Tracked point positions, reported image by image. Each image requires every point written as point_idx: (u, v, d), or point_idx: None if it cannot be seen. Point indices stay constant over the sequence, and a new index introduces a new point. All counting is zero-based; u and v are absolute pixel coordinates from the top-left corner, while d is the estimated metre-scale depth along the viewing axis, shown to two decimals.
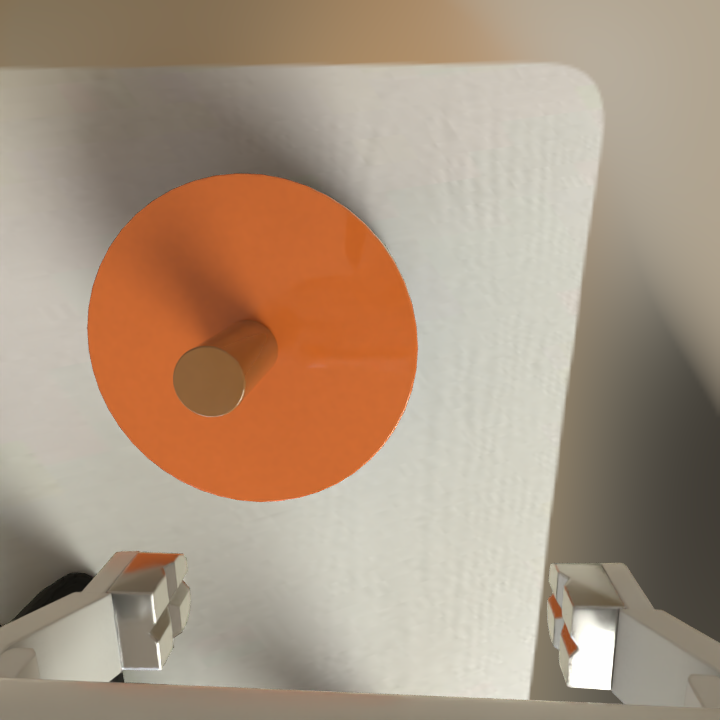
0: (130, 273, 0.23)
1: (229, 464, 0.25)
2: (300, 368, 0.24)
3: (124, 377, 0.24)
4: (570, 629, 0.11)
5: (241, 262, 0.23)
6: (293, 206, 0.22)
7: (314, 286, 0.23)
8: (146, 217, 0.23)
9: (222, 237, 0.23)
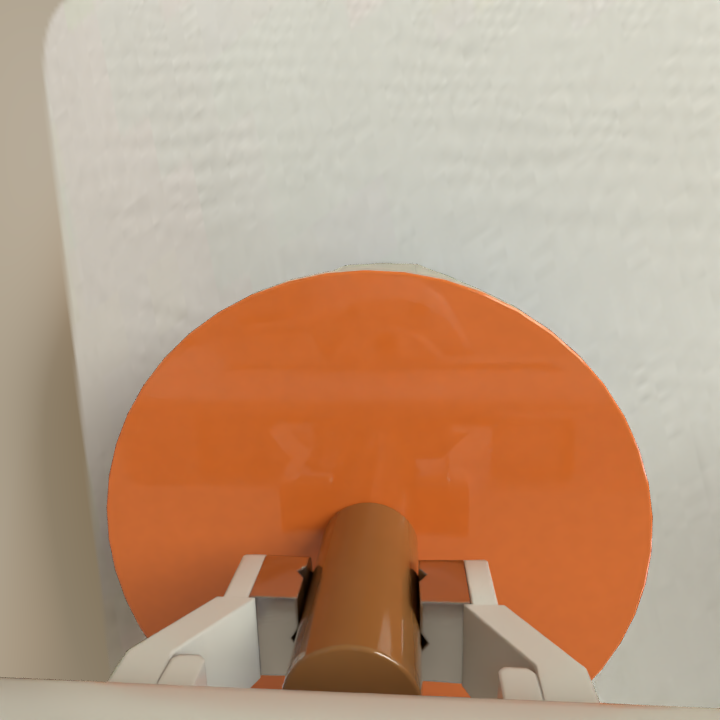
0: None
1: (575, 593, 0.14)
2: (402, 468, 0.14)
3: None
4: None
5: (233, 543, 0.15)
6: (146, 464, 0.14)
7: (264, 439, 0.14)
8: None
9: (199, 566, 0.15)
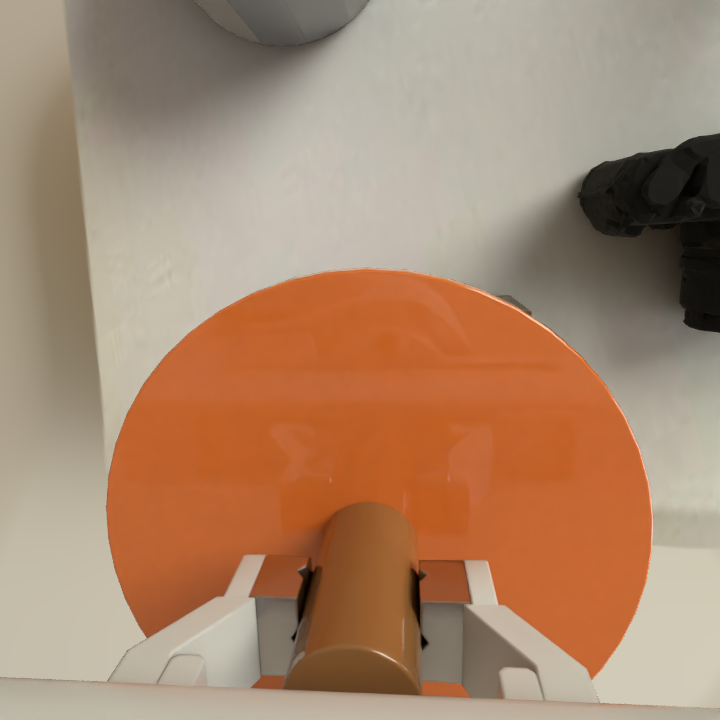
0: None
1: (575, 592, 0.14)
2: (402, 468, 0.14)
3: None
4: None
5: (233, 543, 0.15)
6: (145, 464, 0.14)
7: (264, 439, 0.14)
8: None
9: (199, 566, 0.15)
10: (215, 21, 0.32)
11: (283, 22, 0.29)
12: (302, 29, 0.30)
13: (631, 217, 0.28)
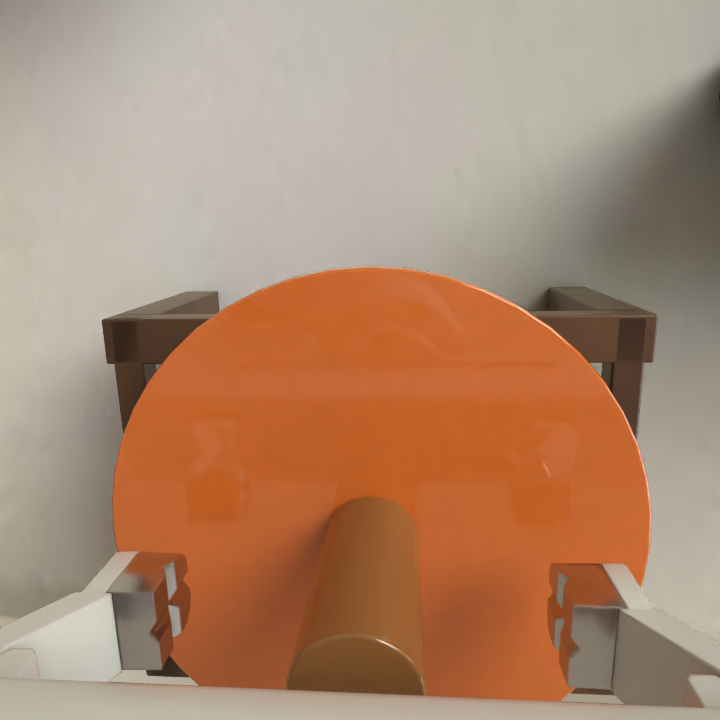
0: (262, 687, 0.16)
1: None
2: (404, 463, 0.14)
3: None
4: (570, 629, 0.11)
5: (237, 538, 0.15)
6: (151, 459, 0.15)
7: (268, 435, 0.14)
8: (183, 656, 0.16)
9: (204, 561, 0.15)
10: None
11: None
12: None
13: None
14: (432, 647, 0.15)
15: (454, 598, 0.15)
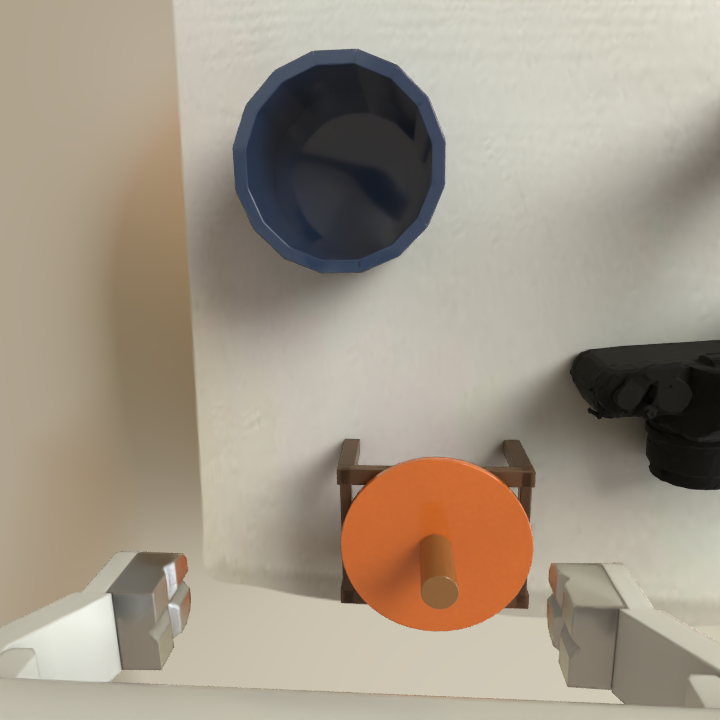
0: (392, 604, 0.43)
1: (507, 565, 0.41)
2: (447, 523, 0.41)
3: (451, 615, 0.42)
4: (570, 629, 0.11)
5: (386, 548, 0.42)
6: (357, 521, 0.41)
7: (400, 513, 0.41)
8: (363, 592, 0.43)
9: (373, 557, 0.42)
10: None
11: None
12: None
13: (606, 412, 0.39)
14: None
15: (465, 570, 0.42)
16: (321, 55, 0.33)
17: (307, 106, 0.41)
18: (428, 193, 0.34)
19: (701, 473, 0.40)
